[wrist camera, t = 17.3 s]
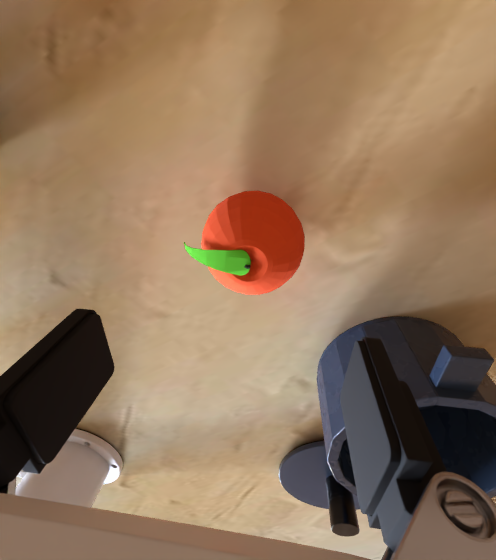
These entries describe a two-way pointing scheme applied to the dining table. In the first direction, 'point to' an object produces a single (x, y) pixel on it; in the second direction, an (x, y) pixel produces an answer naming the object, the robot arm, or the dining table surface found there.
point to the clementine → (251, 242)
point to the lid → (319, 486)
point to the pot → (420, 395)
